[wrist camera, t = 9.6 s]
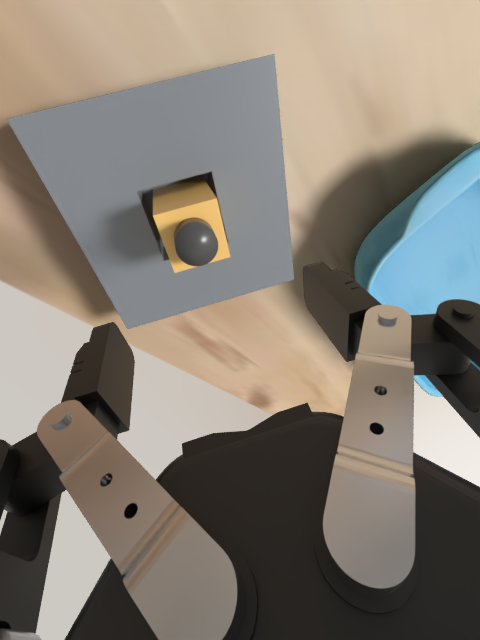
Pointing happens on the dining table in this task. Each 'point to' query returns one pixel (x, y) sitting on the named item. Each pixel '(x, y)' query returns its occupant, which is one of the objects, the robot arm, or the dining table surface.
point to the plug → (190, 224)
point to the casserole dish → (428, 246)
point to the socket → (168, 168)
